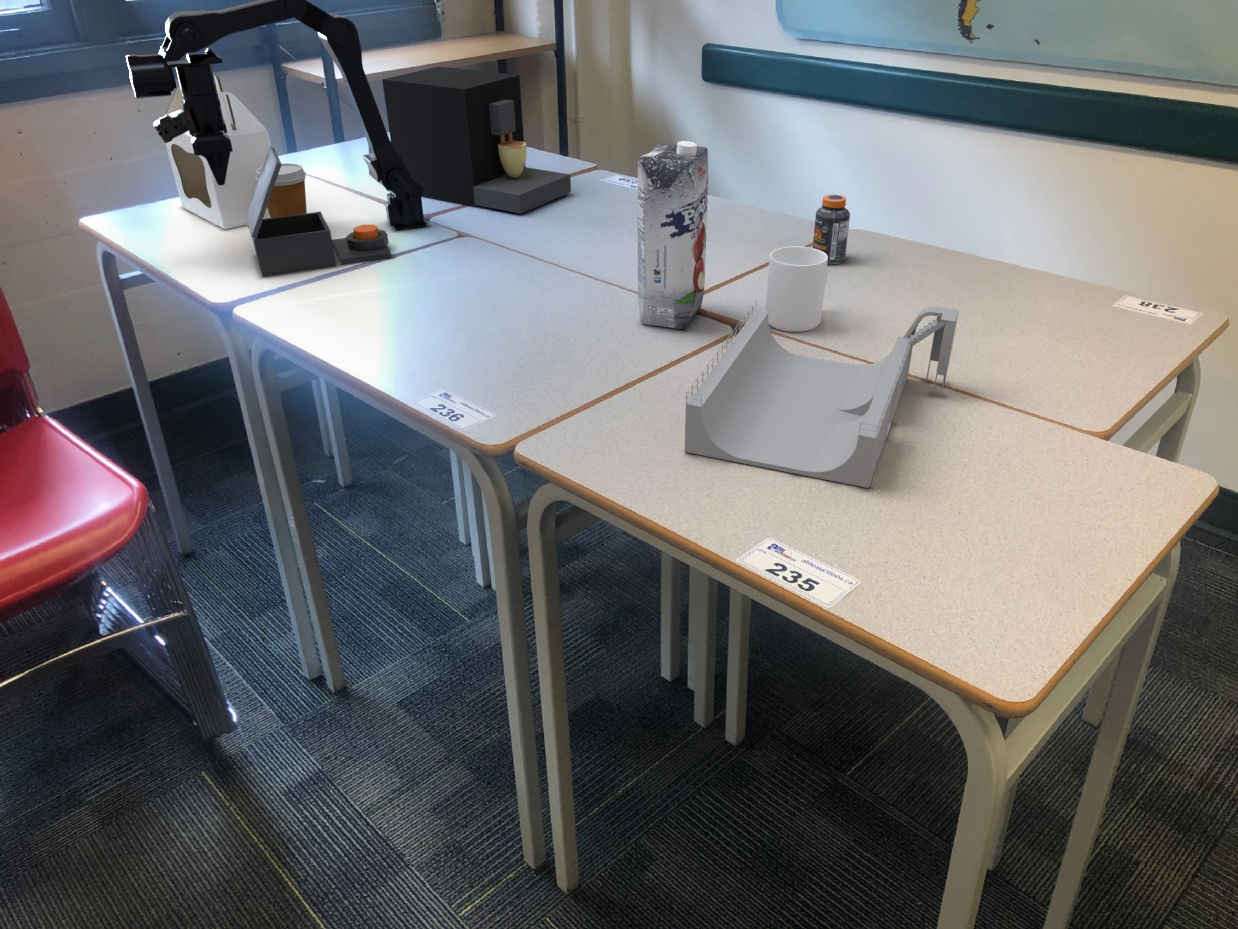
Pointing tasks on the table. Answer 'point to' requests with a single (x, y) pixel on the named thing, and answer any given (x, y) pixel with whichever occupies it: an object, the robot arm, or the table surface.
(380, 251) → the button base
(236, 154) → the gable box
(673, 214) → the juice carton
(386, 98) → the coffee maker
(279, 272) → the dark grey boxy piece
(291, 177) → the disposable coffee cup
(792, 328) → the mug
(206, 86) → the robot arm
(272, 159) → the lid
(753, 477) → the table surface
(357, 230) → the button
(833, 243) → the pill bottle
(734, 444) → the skate ramp
